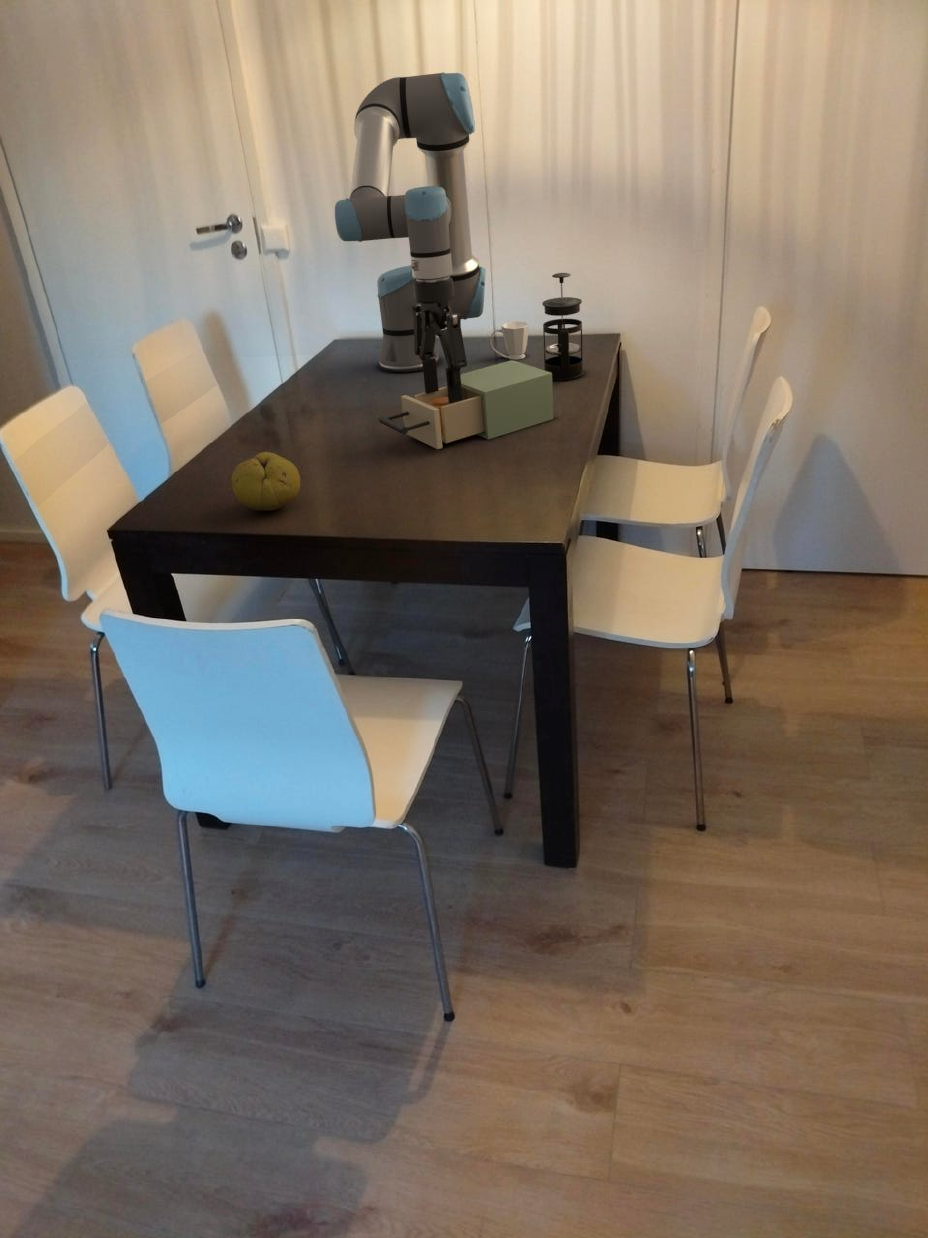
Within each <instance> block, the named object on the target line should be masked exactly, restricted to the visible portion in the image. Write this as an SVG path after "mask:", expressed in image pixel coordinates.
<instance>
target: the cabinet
mask: <svg viewBox="0 0 928 1238" xmlns="http://www.w3.org/2000/svg"><path fill="white" fill-rule="evenodd" d="M460 374H461V387H462V388H464V389H467V390H470V391H472V392H475V393H477V394H480V395H483V407H484V421H485V431H484V432H481V433H478V434H476V436H479V437H482V438H484V439H486V440H490V439H494V438H498V437H500V436H501V437H502V436H504V435H507V434H510V433H513V432H517V431H520V430H523V429H525V428H529V427H532V426H536V425H538V424H542V423H545V422H549V421H552V420H554V394H553V393H554V391H553V380H552V373H551V372H548V371H545V369H541V368H538V367H535V366H532V365H529V364H526V363H523V362H520V361H516V360H514V359H510V360H508V361H504V362H500V363H496V364H492V365H489V366H486V367H482V368H478V369H474V370H470V371H467V372H464V373H460Z"/></svg>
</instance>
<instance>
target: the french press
mask: <svg viewBox="0 0 928 1238" xmlns="http://www.w3.org/2000/svg"><path fill="white" fill-rule="evenodd" d="M551 277H552V278H555V279H558V281H559V284H560V297H553V298H549V299H546V300H544V301H542V303H541V304H542V306H543V307H544V314H545V315H548V316H553V317H561V318H558V319H551V320H548V321H545V322H543V324H542V331H543V332H542V333H543V335H542V336H543V363H544V371H548V372H551V373H552V381H554V382H555V381H556V382H564V381H565V382H566V381H567V382H568V381H573V380H577V379H580V378H582V377H583V376H584V373H585V372H584V369H583V367H584V366H583V363H584V362H583V322H582V320H579V319H577V318H564V316H565V317H566V316H572V315H576V314H578V313H579V312H580V311H581V304H582V303H583V301H582V299H581V298H578V297H572V296H571V297H570V296H564V294H563V293H564V291H563V288H564V287H563V284H564V282H565V281H564V280H565V278H569V277H571V273H568V272H557V273H553V274H552V275H551ZM566 325H572V326H571V327H566ZM553 326H557V328H553ZM578 332H580V344H578V343H575V342H570V334H575V333H578ZM546 334H548V335H557V343H553V344H549V345H547V346H546ZM579 352H580V356H578V355H577V356H576V355H573V354H578V353H579ZM546 354H547V355H551V356H552V357H548V358H546Z"/></svg>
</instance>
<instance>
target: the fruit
mask: <svg viewBox="0 0 928 1238" xmlns="http://www.w3.org/2000/svg"><path fill="white" fill-rule="evenodd" d="M231 487H232V491H233V495H234V497H235V498H236V499H237V501H239V503H241V504H242V505H243V506H244V507H247V508H249V509H251V510H254V511H261V512H263V511H265V512H267V511H269V512H273V511H277V510H280V509H281V508H283V507H285V506H286V505H287V504H289V503H290V502H292V501H293V500H294V499H295V498H296V497H297V496H298V494H299V491H300V488H301V475H300V473H299V469H298V468H297V467H296V465H295V464H294V463H293V462H292V461H290V460H289V459H286V458H285V457H282V456H280V455H278V454H277V453H273V452H270V451H263V452H259V453H257V454H256V455H255V456H254V457H252V458H249V459H246V460H245V461H243V462H240V463H239V464H238V465H237V466H236V467H235V468H234V470H233V472H232V474H231Z"/></svg>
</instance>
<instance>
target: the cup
mask: <svg viewBox="0 0 928 1238" xmlns="http://www.w3.org/2000/svg"><path fill="white" fill-rule="evenodd" d="M500 327H501V328H499V329H495V330H494V331H493V332H492V333H491V335H490V340H489V341H490V342H489V345H490V348H491V349H492V350H493V352H495V353H496V354H497V355H499V356H500V357H502V358H505V359H509V360H513V361H516V360H523V359H525V358H526V355H525V353H526V351H527V347H528V339H529V338H528V337H529V330H530V329H529V328H530V324H529V323H528V322H526V321H509V322H505V323H504V324H501V325H500ZM495 333H501V334H502V338H503V342H504V347H505V350H506V353H507V354H508V355H505V354H503V353H501V352H500V351H498V350H497V349H496V348H495V347H494V346H493V336H494V335H495Z"/></svg>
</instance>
